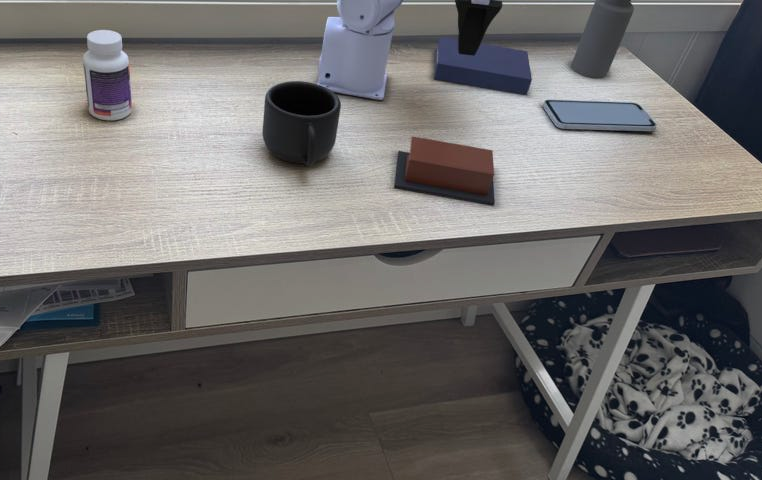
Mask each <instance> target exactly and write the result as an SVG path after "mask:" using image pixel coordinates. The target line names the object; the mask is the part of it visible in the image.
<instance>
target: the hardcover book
mask: <svg viewBox="0 0 762 480" xmlns="http://www.w3.org/2000/svg"><path fill="white" fill-rule="evenodd" d="M437 41H438V43H437V49H435V51H434V52H435V53H434V71H433V79H434V80H438V81H443V82H448V83H455V84H461V85H465V86H471V87H472V86H473V87H478V88H484V89H488V90H489V89H490V90H495V91H501V92H507V93H513V94H514V93H515V94H519V95H525V96H527V95H528V92H529V89H530V87H531V85H532V81H533V78H532V72H531V66H530V65H531V64H530V59H529V53H528V51H527V50H522V49H516V48H510V47H505V46H498V45H494V44H493V45H492V44H486V43H481V44H480V46H479V48H478V50H477V52H476V54H475V55H474V56H473V55H464V54H459V52H458V38H457V39H456V38H451V37H446V36H441V35H439V36H438V40H437Z"/></svg>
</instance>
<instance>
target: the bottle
mask: <svg viewBox="0 0 762 480" xmlns="http://www.w3.org/2000/svg"><path fill="white" fill-rule="evenodd" d="M634 10H635V7H634V5H633V3H632V0H595V1H594V3H593V6H592V7H591V11H590V14H589V16H588V19H587V22H586V24H585V26H584V29H583V32H582V35H581V38H580V40H579V43H578V45H577V48H576V51H575V53H574V56H573V59H572V62H571V65H570V66H571V68H572V70H574V71H575V72H576V73H578V74H580V75H581V76H585V77H588V78H592V79H593V78H594V79H600V78H605V77H607V75H608V74H609V71H610V69H611V67H612V64H613V62H614V60H615V57H616V55H617V53H618V50H619V47H620V45H621V43H622V40H623V38H624V36H625V33H626V31H627V29H628V26H629V24H630V21H631V19H632V16H633V14H634Z"/></svg>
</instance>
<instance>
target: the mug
mask: <svg viewBox="0 0 762 480" xmlns="http://www.w3.org/2000/svg"><path fill="white" fill-rule="evenodd" d="M341 103H342V102H341V99H340V97H339V96H338V95H337V93H336V92H332V91H331V90H329V89H328V88H326V87H324V86H321V85H318V83H314V82H309V81H303V80H302V81H301V80H290V81H284V82H280V83H277V84H275V85H272V86H271V87H270V88H268V90H267V91H266V93H265V96H264V107H263V117H262V118H263V119H262V120H263V121H262V139H263V142H264V144H265V147H266V149H267V150H268V151H269V152H270V153H271V154H272V155H273V156H274V157H277V158H278V159H281V160H283V161H286V162H289V163H295V164H305V166H307V167H313V166H314V164H315V163H316V162H319V161H322V160H323V159H325V158H327V156H328V155H329V154H330V152H332V150H333V149H334V147H335V144H336V140H337V134H338V128H339V122H340V121H339V120H340V114H341V109H342V105H341Z"/></svg>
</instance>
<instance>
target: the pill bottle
mask: <svg viewBox="0 0 762 480" xmlns="http://www.w3.org/2000/svg"><path fill="white" fill-rule="evenodd" d="M86 44H87V45H86V46H87V49H88V50H87V51H86V52H85V53H84V54H83V58H82V65H83V74H84V82H85V91H86V101H87V108H88V112H89V113H90V115H91V116H92V117H94V118H96V119H99V120H103V121H117V120H121V119H125V118H126V117H128V116H129V115H130V114H131V113H132V110H133V103H132V89H131V88H132V87H131V73H130V71H131V70H130V61H129V60H130V59H129V56H128V54H127V53H126V52H124V51H123V39H122V35H121V34H120V33H118V32H117V31H114V30H109V29H98V30H94V31H91V32H89V33H88V34H87V36H86Z"/></svg>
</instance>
